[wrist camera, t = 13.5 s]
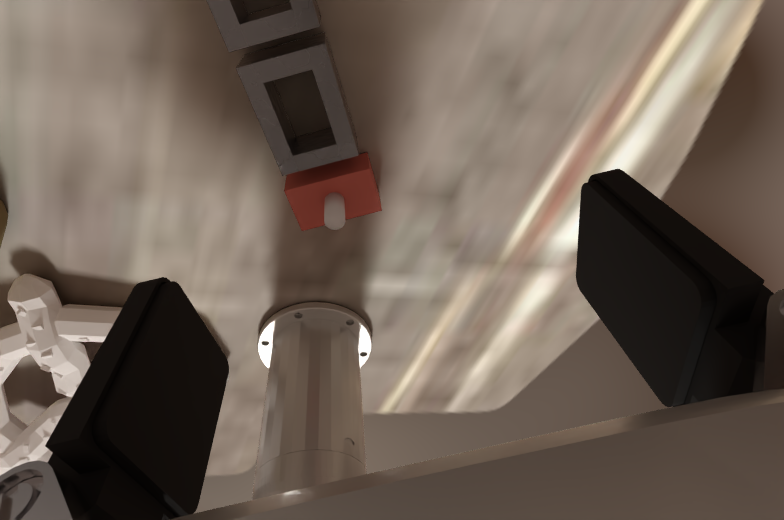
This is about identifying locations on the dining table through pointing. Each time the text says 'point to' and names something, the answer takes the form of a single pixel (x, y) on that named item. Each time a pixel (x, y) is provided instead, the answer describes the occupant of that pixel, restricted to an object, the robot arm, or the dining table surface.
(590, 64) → the dining table surface
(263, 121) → the link
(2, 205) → the squeeze bottle
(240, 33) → the link
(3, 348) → the pretzel
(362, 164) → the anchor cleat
